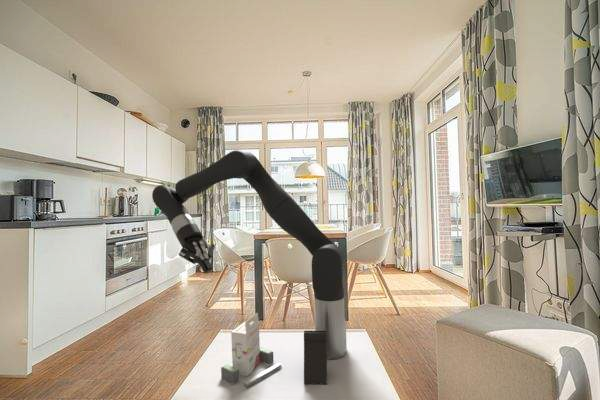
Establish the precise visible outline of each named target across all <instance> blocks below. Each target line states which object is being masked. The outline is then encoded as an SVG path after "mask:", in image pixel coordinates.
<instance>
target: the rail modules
mask: <svg viewBox="0 0 600 400" xmlns="http://www.w3.org/2000/svg"><path fill="white" fill-rule="evenodd" d="M274 361H275V360H274V351H272V350H269V349H267V348H264V347H261V346H260V362H262V363H264V364H266V365H268V366H269V365H271V364H273V363H274ZM220 372H221V376H220V377H221V379H222V380H224V381H226V382H228V383H229V384H232V385H235V384H238V383H239V382H240V375H239V370H238V369H236V368H234V367H233V365H231V364H230V365H229V364H225V365H223V366H221V367H220Z"/></svg>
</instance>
